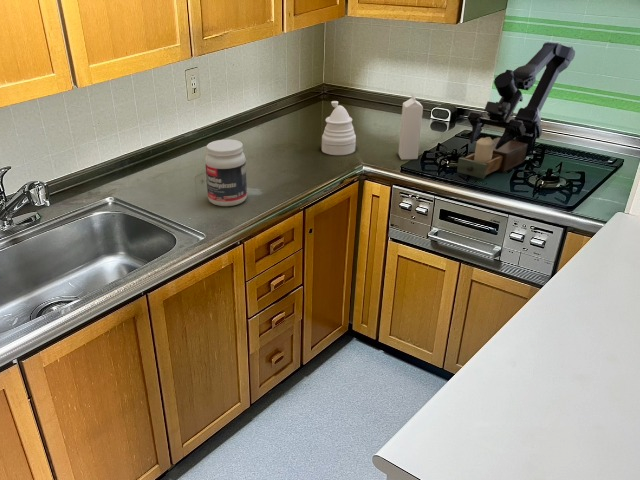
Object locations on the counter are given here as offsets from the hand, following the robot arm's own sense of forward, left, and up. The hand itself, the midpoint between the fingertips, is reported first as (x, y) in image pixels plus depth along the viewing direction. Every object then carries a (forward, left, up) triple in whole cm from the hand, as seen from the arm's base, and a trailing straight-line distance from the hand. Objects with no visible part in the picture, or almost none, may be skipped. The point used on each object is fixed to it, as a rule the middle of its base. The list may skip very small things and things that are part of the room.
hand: (483, 145), depth 208 cm
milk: (+17, -22, -10) cm, 29 cm away
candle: (-1, -1, -8) cm, 8 cm away
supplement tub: (+87, +1, -10) cm, 87 cm away
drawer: (0, 0, -9) cm, 9 cm away
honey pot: (+39, -37, -10) cm, 54 cm away
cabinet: (-11, -7, -9) cm, 16 cm away
